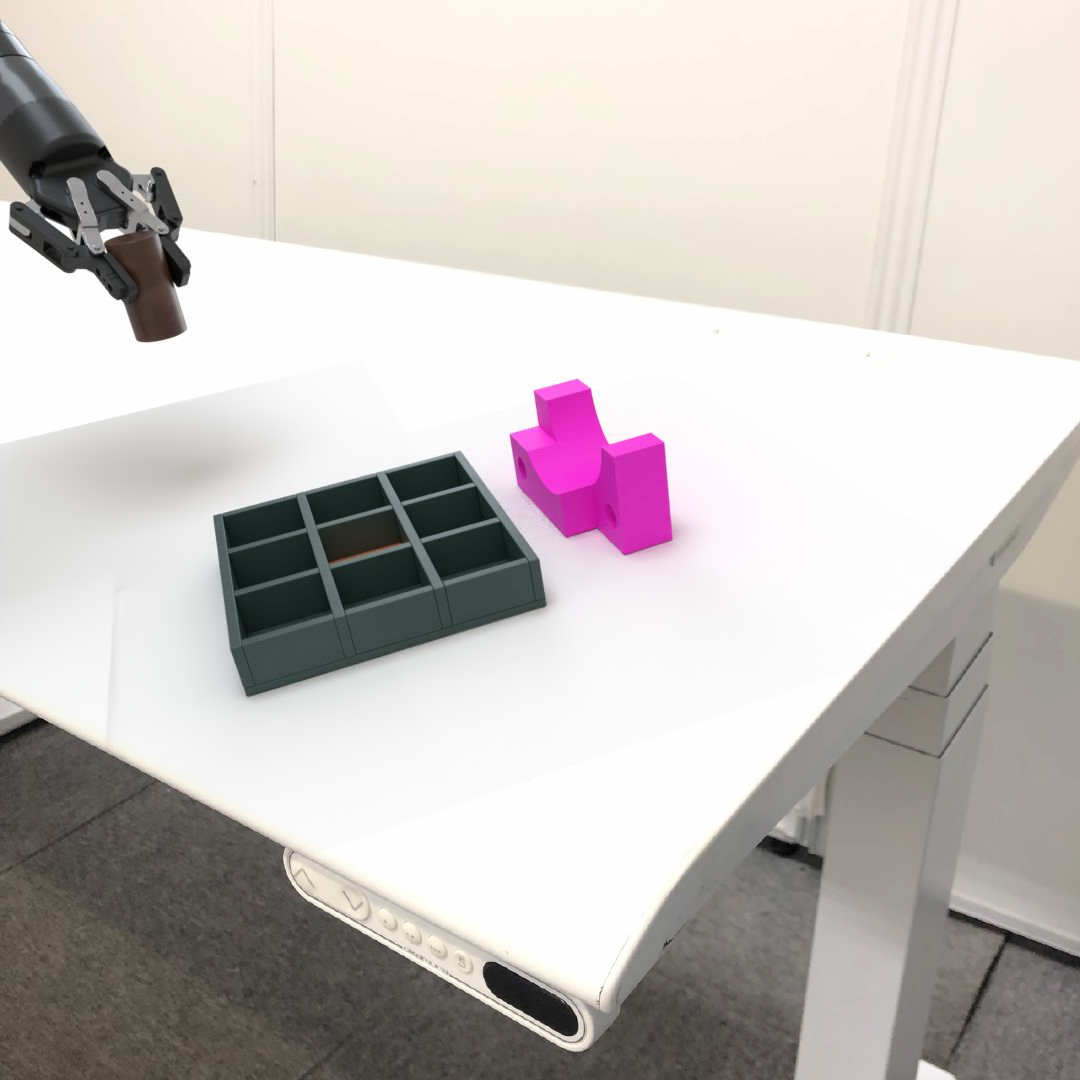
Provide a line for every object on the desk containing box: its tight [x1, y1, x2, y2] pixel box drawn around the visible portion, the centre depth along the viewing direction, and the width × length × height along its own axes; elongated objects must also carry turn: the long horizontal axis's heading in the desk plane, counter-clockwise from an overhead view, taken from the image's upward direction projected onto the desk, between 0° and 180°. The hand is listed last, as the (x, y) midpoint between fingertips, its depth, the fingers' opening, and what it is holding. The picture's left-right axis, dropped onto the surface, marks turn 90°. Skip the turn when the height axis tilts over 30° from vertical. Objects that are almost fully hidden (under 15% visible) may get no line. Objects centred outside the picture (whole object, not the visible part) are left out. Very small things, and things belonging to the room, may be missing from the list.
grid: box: [212, 450, 547, 697], centre depth 73 cm, size 20×20×4 cm
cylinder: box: [103, 231, 188, 343], centre depth 84 cm, size 4×4×8 cm
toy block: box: [509, 378, 674, 555], centre depth 76 cm, size 15×6×8 cm, turn 21°
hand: (159, 287), depth 83 cm, fingers closed on cylinder, 4 cm apart
